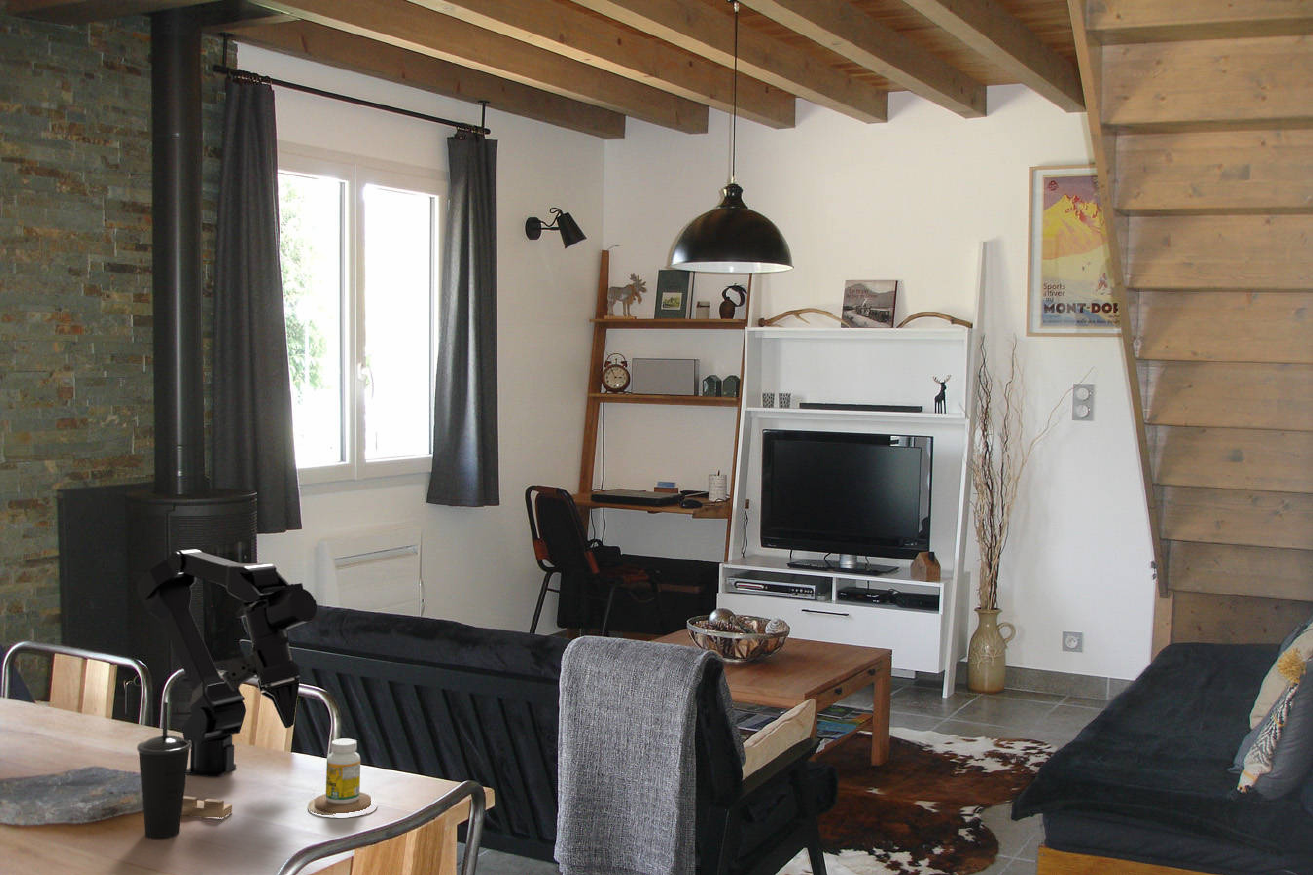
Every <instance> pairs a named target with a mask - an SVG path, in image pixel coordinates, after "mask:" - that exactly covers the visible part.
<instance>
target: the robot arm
mask: <svg viewBox="0 0 1313 875" xmlns="http://www.w3.org/2000/svg"><path fill="white" fill-rule="evenodd" d="M198 579H200V580H204V581H207V582H211V583H213V584H217V585H221V586H223V587H224V588H225V589H226V592H227V593H228V594H229V595H231V596H232V597H235V598H236V599H238V600H240V601H243V602H242V605H241V606H240V608H239V610H238V611H237V612H236V618H240V619H241V618H245V620H246V623H247V624H246V625H247V629H248V633H249V638H250V643H251V648H250V652H251V655H250V656H248V657H247V658H245V659H243V660H239V659H238V658H233V659H232V660H230V661H229V662H228V663H227V669H228V670H227V671H225V672H224V673H223V674H222V675H221V676H220V673H219V672H218V670H217V668H216V665H215V663H214V661H213V659H212V657H211V654H210V652H209V650H208V647H207V646H206V643H205V641H204V639H203V636H202V635H201V632H200V629H199V628H198V625H197V624H196V621H195V619H194V617H193V614H192V613H191V609H190V606H191V601H192V596H193V593H192V589H191V588H192V587H194V585H195V584H196V583H197V581H198ZM136 592H137V595H138V598H139V600H140V601H141V603H142V604H143V606H144V608H145V609H146V611H147V612H148V613H150V615H152V616H153V617H155V618H157V619H158V620H159V621H161V622H162V624H163V627H164V629H165V631H166V633H167V636H168V638H169V641H170V643H171V644H172V646H173V649H174V651H175V653H176V656H177V658H178V660H179V662H180V663H179V664H180V665H181V667H182V669H183V671H184V675H185V676H186V678H187V681H188V683H189V685H190V687H191V690H192V694H191V700H190V704H189V708H190V712H191V715H190V716H189V717H188V719H187V720H186V721H185V722H184V723H183V724H182V726H181V733H182V738H183V739H186V740H189V741H191V743H192V746H191V748H190V754H189V755H190V756H189V757H190V760H189V762H190V763H189V768H187V772H186V775H193V776H202V777H203V776H204V777H210V778H211V777H212V778H219V777H221V776H222V775H224V774H226V773H228V772H230V771H232V770H234V769H236V768H237V764H235V744H233V736H234V735H239V734H240V733H241V730H242V726H243V723H244V720H245V717H246V713H247V708H246V704H245V700H246V698H245V697H244V695H243V694H242V693H241V691H240V688H241V685H243V684H244V683H247V681H249V680H251V679H252V678H253V677H255V676H256V679H258V680H257V685H258V686H257V687H258V690H259V693H260V695H261V696H263V697H265V698H267V699H269V700H270V701H271V702H272V704H273V705H274V707H275V710H276V712H277V714H278V716H279V719H280V721H281V723H282V725H283V727H284V728H285V729H289V728H291V727H292V726H294V725H295V717H296V710H297V703H298V696H299V689H300V688H299V687H300V683H301V678H300V677H301V673H300V670H299V669H300V668H299V665H298V663H295V662H294V660H293V659H292V655H291V654H292V653H291V651H290V646H289V638H288V636H287V632H286V630H290V629H293V628H295V627H297V626H300V625H302V624H306V623H309V622H311V621H312V620H313V619H314V618H315V617H316V615H317V612H318V603H317V600H316V599H315V597H314V596H313V594H311V593H310V592H309V591H308V590H306V589H304V586H303V583H302V582H296V583H295V582H294V583H289V582H288V581H287V580H286V579H285V577H283V576H282V574H280V573H279V571H278V570H277V567H276V566H275V564H272V563H269V562H268V563H264V562H263V563H262V562H261V563H260V562H251V563H250V562H249V563H247V562H246V563H240V562H237V561H232V560H230V559H226V558H222V557H219V556H216V555H212V554H209V553H206V552H202V551H201V550H199V549H196V548H194V549H193V548H191V549H182V550H181V549H180V550H175V551H174V552H172V553H171V554H170V555H169V556H168V557H167V558H166V559H165V560H163V561H161V562H160V563H158V564H156V565H155V566H153V567H152V568H150V569H149V570H148V571H147V572H146V573H145V574H143V575H142V576H141V578H140V580H139V581H138V583H137V586H136Z"/></svg>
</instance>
